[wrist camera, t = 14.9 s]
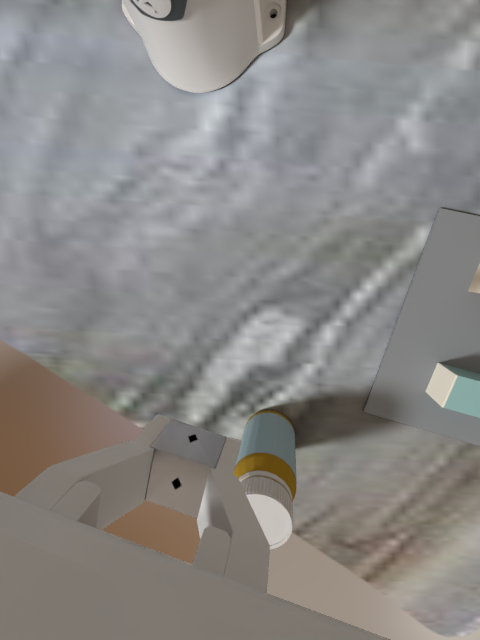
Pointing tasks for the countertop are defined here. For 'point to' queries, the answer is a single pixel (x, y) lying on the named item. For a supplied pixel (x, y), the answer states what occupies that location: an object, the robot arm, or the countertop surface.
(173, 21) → the robot arm
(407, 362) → the mat
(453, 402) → the teal block
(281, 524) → the bottle
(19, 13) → the countertop surface
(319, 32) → the countertop surface
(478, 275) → the walnut block
